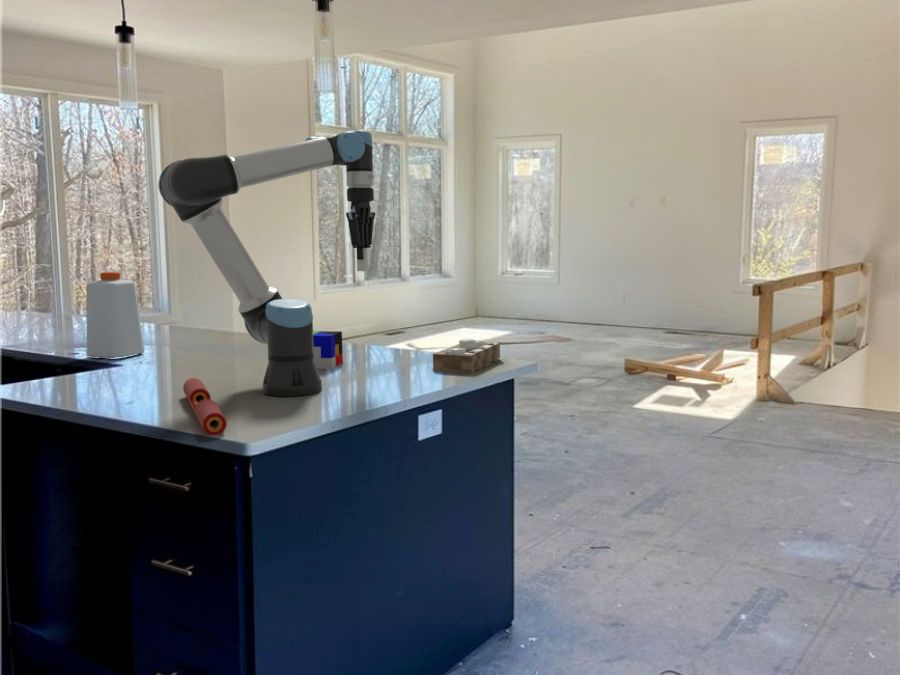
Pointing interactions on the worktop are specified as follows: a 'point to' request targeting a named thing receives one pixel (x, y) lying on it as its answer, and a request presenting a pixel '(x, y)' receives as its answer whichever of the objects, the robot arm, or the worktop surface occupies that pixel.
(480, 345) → the right button
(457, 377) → the worktop surface
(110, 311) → the plastic bottle
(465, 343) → the middle button
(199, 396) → the blood vessel
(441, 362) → the button panel
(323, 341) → the puzzle toy
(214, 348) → the worktop surface
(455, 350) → the left button
